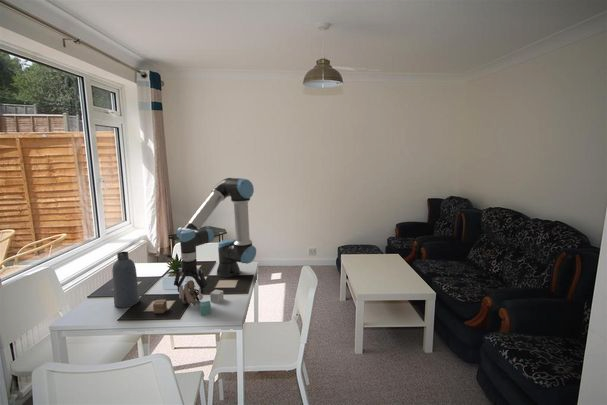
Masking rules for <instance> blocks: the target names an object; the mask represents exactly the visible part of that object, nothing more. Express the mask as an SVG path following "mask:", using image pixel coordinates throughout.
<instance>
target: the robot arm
mask: <svg viewBox="0 0 607 405" xmlns="http://www.w3.org/2000/svg"><path fill="white" fill-rule="evenodd" d="M254 189H255V188H254V185H253V183H252V182H251V180H250V179H249V180H248V179H246V178H236V177H228V178H227V177H226V178H223V179H222V180H221V181H219V182H217V184H216V185H214V187H213V188H212V189H211V190H210V194H209V196H208V197H207V198H206V199H205V200H204V202H203V203H202V204H201V206H200V207H198V209H197V211H196V212H195V213H194V214H193V216H192V217H191V218H190V219H189V220H188V222H187V223H186V224H185V226H180V227H179V228H177V230H176V237H177V238H178V239H179V243H180V256H181V258H180V259H181V267H178V268H176V275H175V278H174V282H173V286H176V287H177V293H178V295H179V299H180V300H182V293H183V290H184V286H183V283H184V282H185V279H186V277H189V278H192V279H194V280H195V281H194V282H196V284H197V286H198V287H199V288H198V290H199V291H198V293H199V294H198V298H199V301H202V300H203V299H204V293H205V288H206V287H207V286H208V282H207V281H206V278H205V274H204V271H203V270H204V269H203V268H197V266H198V262H197V260H198V259H197V247H198V246H203V245H205V244H208V243H210V242H212V241H214V238H215V234H214V231H213V230H212V229H210V228H207V229H202V226H203V225H204V224H205V223H206V221H207V220H208V219H209V218H210V216H211V215H212V214H213V212H214V211H215V210H216V208H217V207H218V206H219V204H221V202H223V201H225V200H226V198H228V197H230V201H231V203H233V209H234V210H233V213H234V230H235V238H229V239H224V240H221V241H219V242H218V249H217V250H218V251H217V252H218V266H217V269H216V276H217V277H219V278H223V279H225V278H226V279H228V278H229V279H230V278H234V277H237V276H239V275H240V273H241V269H240V267H239V264H238V263H241V264H251V263H252V262H253V261H254V260H255V258H256V256H257V248H256V247H255V246H254V245H253V241H252V240H251V238H250V223H249V221H250V220H249V202H250V201H251V198H252V196H253V194H254V192H255V190H254ZM181 274H182V275H181ZM180 277H181V278H180Z"/></svg>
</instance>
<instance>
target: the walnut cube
mask: <svg viewBox="0 0 607 405" xmlns="http://www.w3.org/2000/svg"><path fill="white" fill-rule="evenodd" d="M167 303H168V302H167V299H155V301H154V303H153V304H152V308H153V314H165V312H166V310H167V308H168V304H167Z"/></svg>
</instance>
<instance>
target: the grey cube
mask: <svg viewBox="0 0 607 405" xmlns="http://www.w3.org/2000/svg"><path fill="white" fill-rule="evenodd" d="M209 295H210V296H209V297H210V303H215V304H216V303H217V304H219V303H221V302H222V301H223V300H224V290H221V289H214V290H213V291H211V292H210V293H209Z"/></svg>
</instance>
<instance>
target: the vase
mask: <svg viewBox="0 0 607 405" xmlns="http://www.w3.org/2000/svg"><path fill="white" fill-rule="evenodd" d="M138 282H139V281H138V275H137V268H136V264H135V262H134V261H133V260H132V259H131V258H129V252H128V251H120V252H117V260H116V261H115V262H114V263H113V265H112V286H113V287H112V288H113V289H112V290H113V304H114V306H115V307H117V308H122V309H123V308H128V307H132V306H134V305H136V304H138V303H139V302H140V298H141V297H140V291H139V283H138Z"/></svg>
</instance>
